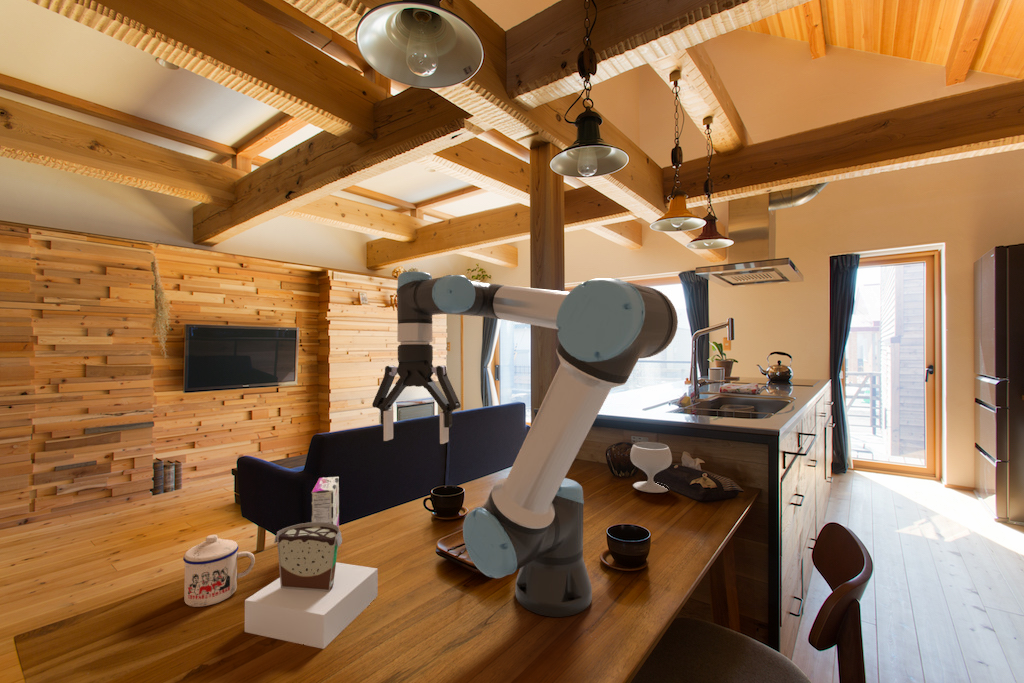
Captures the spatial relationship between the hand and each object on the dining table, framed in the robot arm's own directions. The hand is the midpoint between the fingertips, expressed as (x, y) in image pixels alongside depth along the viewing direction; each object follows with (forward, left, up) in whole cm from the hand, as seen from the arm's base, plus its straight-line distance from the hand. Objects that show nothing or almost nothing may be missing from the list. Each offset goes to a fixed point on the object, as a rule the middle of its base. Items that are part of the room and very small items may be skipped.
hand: (415, 441), depth 99 cm
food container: (+10, +19, -23) cm, 31 cm away
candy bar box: (+26, -1, -29) cm, 39 cm away
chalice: (-43, -81, -29) cm, 96 cm away
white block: (+9, +19, -29) cm, 36 cm away
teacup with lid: (+32, +21, -29) cm, 48 cm away
